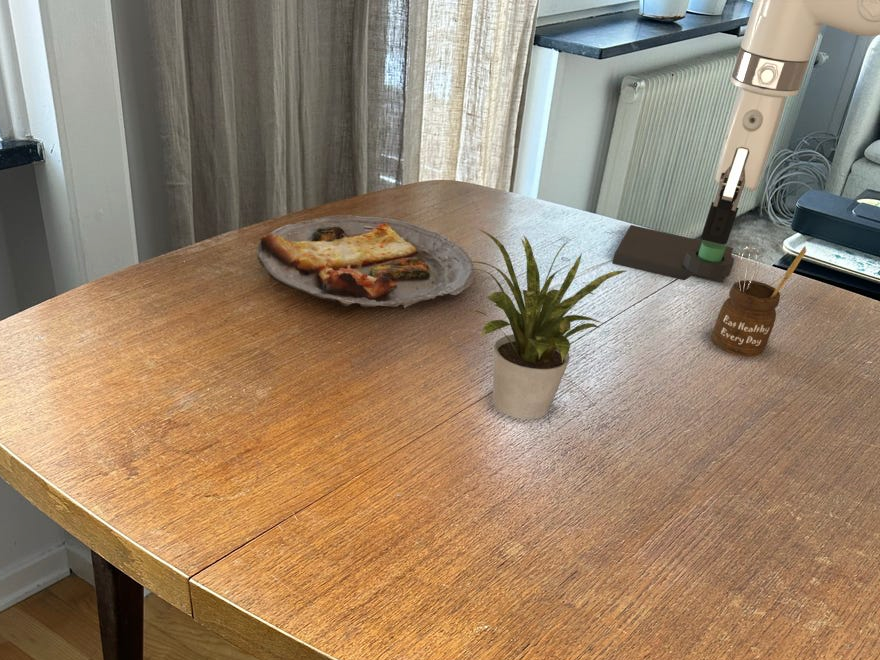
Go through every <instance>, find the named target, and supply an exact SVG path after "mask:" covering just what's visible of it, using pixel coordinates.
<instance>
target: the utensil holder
mask: <svg viewBox="0 0 880 660" xmlns="http://www.w3.org/2000/svg"><path fill="white" fill-rule="evenodd" d="M751 249H752V250H753V252H754V254H755V262H754V266H757V262H758V264H760V263H761V258H759V261H758V257H757V256H758V255H759V257H761V253H760V252H759V250H758V249H757V248H755V247H753V246H746V247H744V248H743V249H742V251H744V252H739V253H738V254H737V258H736V260H739V262H738V261H736V262H735V265H737V264H738V263H739V264H738V271H737V267H735V269H734V276H735V277H734V278H735V282H734V283H733V284H732V286H731V288H730V290H729V293H728V295H729V296H728V298H727V299H725V301H723V303H722V304H721V307H720V310H719V312H718V315H717V318H716V321H715V323H714V327H713V330H712V333H711V337H710V341H711V342H712V344H713V345H714V346H715V347H716V348H717V349H720V350H721V351H724V352H725V353H728V354H731V355H736V356H740V357H756V356H760V355H762V354H763V353H764V351H765V349H766V347H767V344H768V341H769V339H770V336H771V334H772V332H773V329H774V326H775V323H776V318H777V311H776V308H777V307H778V306H779V303H780V300H781V299H780V298H781V293H780V290H781V288H782V287H783V285H784V284H785V283H786V281H787V280H788V279H790V277H791V276H792V275H793V273H794V271H795V270H796V268H797V267H798V265H799V264H800V263H801V260H802V259H803V258H804V256H805V255H806V253H807V246H806V245H805V246H803V247H802V249H801V250H800V252H798V254H797V256H796V257H795V259H794V260H793V261H792V262H791V264H790V266H789V267H788V268H787V270H786V272H785V274H784V276H783V278H782V280H781V281H780V283H779V284H778V285H777V287H776V288H775V287H774V286H772V285H769V284H767V283H764V282H761V281H756V278H757V276H758V275H759V274H758V273H759V268H760V267H758V268H757V267H754V268H753V273H752V276H751V278H750V280H749V279H747V277H748V273H745V275H744V276H745V277H744V280H743V279H742V280H740V268H741V263H742V258H743V256H744V254H745V252H747V250H748V255H747V258H750V255H751ZM739 255H740V256H739ZM739 257H740V258H739ZM749 262H750V260H747V262H746V265H749ZM748 270H749V267H748V266H746V268H745V271H746V272H748ZM756 270H757V271H756ZM736 271H737V272H738V274H737V273H736ZM755 272H757V273H755ZM755 275H756V276H755Z"/></svg>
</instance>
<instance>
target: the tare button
mask: <svg viewBox="0 0 880 660" xmlns="http://www.w3.org/2000/svg"><path fill="white" fill-rule="evenodd" d="M702 241H703V242H702V243H701V247H700V250H699V253H698V257H700V258H702V259H704V260H708V261H712V262H721V261H722V258H723V255H724V252H725V249H726V246H727V245H726V244H719V243H715V242H710V241H706V240H702Z"/></svg>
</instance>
